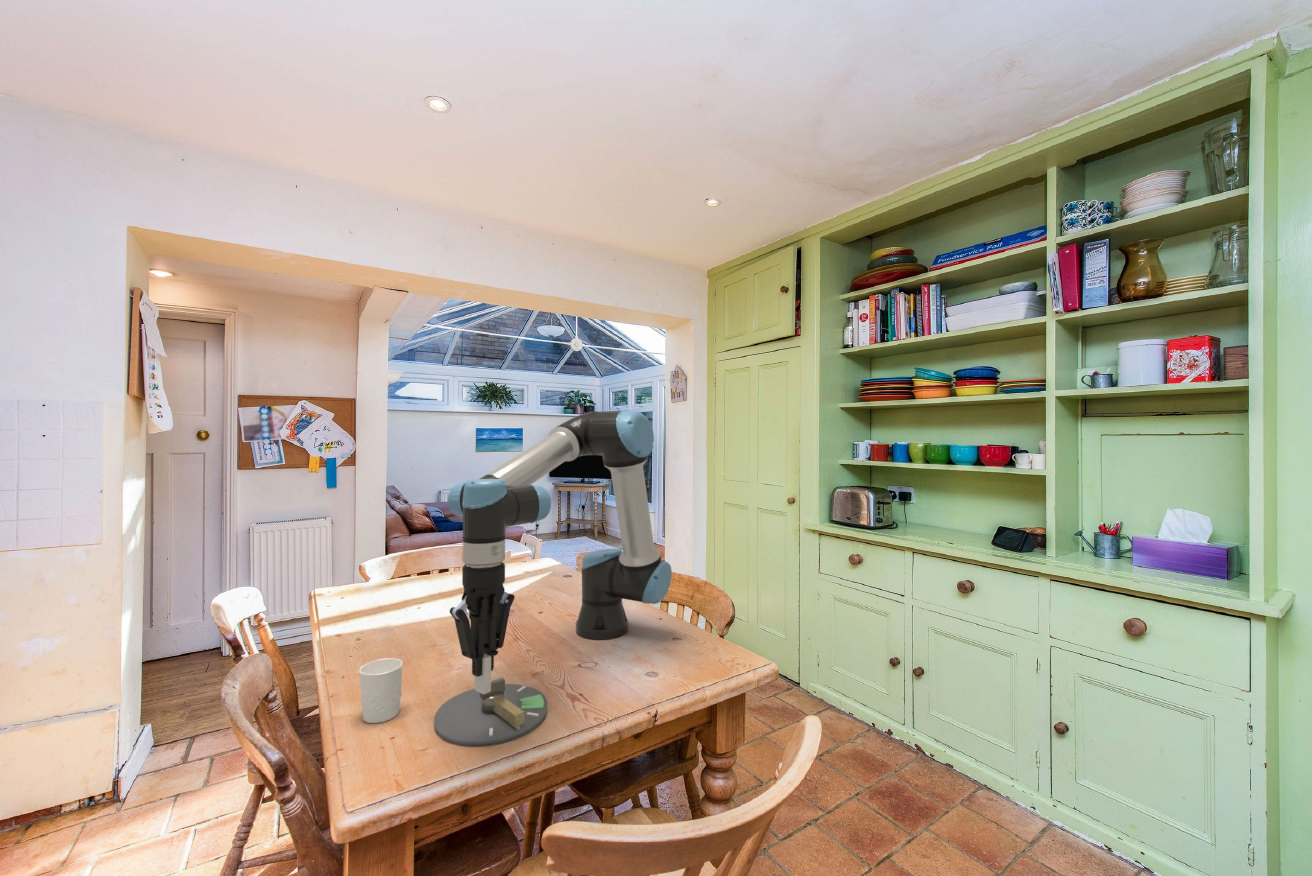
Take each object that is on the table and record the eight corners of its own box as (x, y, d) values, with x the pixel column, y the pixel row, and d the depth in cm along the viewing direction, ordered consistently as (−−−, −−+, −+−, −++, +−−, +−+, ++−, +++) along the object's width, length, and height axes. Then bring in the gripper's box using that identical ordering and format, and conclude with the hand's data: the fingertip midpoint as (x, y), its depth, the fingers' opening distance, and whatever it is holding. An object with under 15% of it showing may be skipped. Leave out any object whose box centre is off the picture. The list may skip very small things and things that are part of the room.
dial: (416, 714, 110) (416, 707, 110) (512, 680, 126) (512, 673, 126) (465, 761, 95) (465, 753, 95) (568, 715, 110) (568, 708, 110)
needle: (475, 708, 110) (475, 682, 110) (498, 699, 114) (498, 675, 114) (508, 732, 101) (508, 705, 101) (531, 722, 105) (531, 696, 105)
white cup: (369, 705, 114) (369, 658, 114) (408, 704, 115) (408, 657, 114) (352, 726, 106) (351, 675, 106) (393, 724, 107) (393, 674, 107)
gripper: (466, 573, 93) (464, 711, 93) (525, 559, 103) (523, 683, 103) (440, 566, 97) (438, 698, 97) (499, 554, 108) (498, 673, 108)
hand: (482, 690), depth 100 cm, fingers closed
